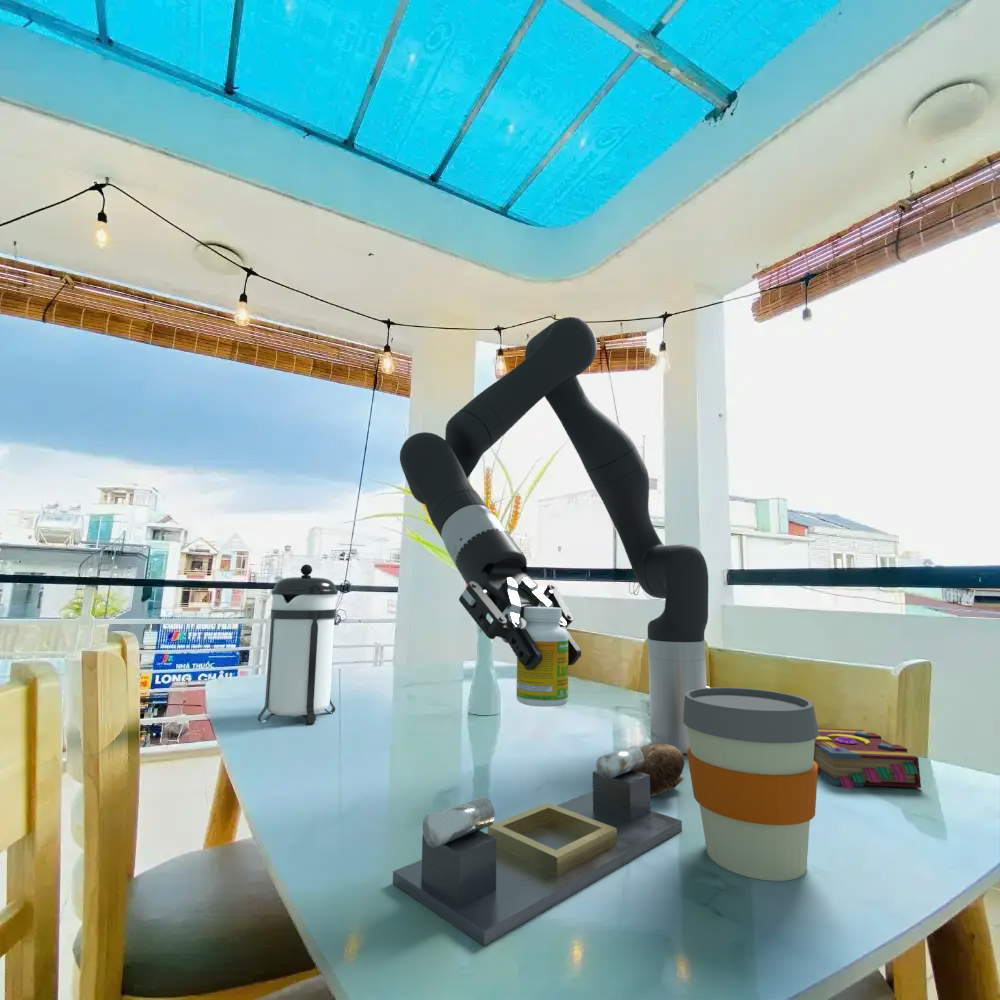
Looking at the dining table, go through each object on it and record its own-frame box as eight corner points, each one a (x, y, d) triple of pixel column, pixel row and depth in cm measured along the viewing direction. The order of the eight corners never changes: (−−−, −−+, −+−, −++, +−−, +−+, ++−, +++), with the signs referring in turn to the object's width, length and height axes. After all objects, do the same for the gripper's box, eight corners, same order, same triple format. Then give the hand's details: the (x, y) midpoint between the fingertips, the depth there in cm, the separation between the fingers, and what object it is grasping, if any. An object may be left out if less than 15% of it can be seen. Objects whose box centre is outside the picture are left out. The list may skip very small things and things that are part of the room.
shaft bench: (594, 798, 70) (593, 736, 71) (684, 829, 62) (681, 757, 63) (387, 885, 50) (391, 795, 51) (479, 949, 41) (480, 839, 42)
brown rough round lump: (699, 760, 75) (672, 722, 75) (701, 804, 68) (671, 762, 68) (648, 780, 79) (622, 744, 78) (644, 824, 71) (615, 784, 71)
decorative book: (865, 758, 89) (863, 725, 90) (930, 795, 73) (926, 755, 74) (789, 755, 90) (787, 722, 91) (836, 791, 74) (833, 751, 75)
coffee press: (352, 719, 110) (360, 564, 114) (266, 730, 101) (277, 562, 105) (325, 703, 124) (332, 566, 129) (247, 712, 115) (257, 564, 120)
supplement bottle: (565, 709, 56) (565, 609, 57) (511, 705, 57) (513, 607, 58) (570, 698, 61) (570, 607, 62) (521, 695, 62) (522, 605, 63)
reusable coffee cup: (855, 867, 53) (842, 702, 56) (779, 907, 47) (768, 717, 49) (737, 820, 64) (730, 683, 66) (661, 847, 57) (656, 693, 59)
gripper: (449, 521, 62) (526, 642, 52) (539, 531, 72) (618, 635, 61) (420, 570, 65) (486, 693, 55) (509, 573, 75) (580, 679, 64)
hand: (556, 662), depth 58 cm, fingers closed on supplement bottle, 5 cm apart
